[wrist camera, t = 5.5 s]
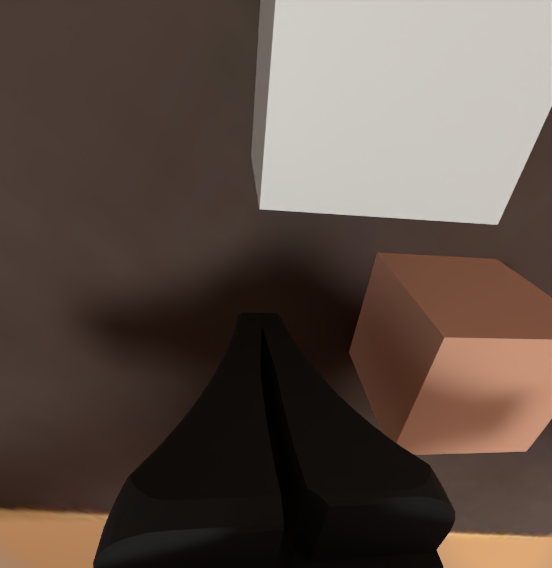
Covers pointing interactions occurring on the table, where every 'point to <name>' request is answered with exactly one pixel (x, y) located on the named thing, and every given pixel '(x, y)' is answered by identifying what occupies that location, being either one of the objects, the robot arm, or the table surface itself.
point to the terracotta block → (455, 354)
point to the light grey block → (399, 105)
